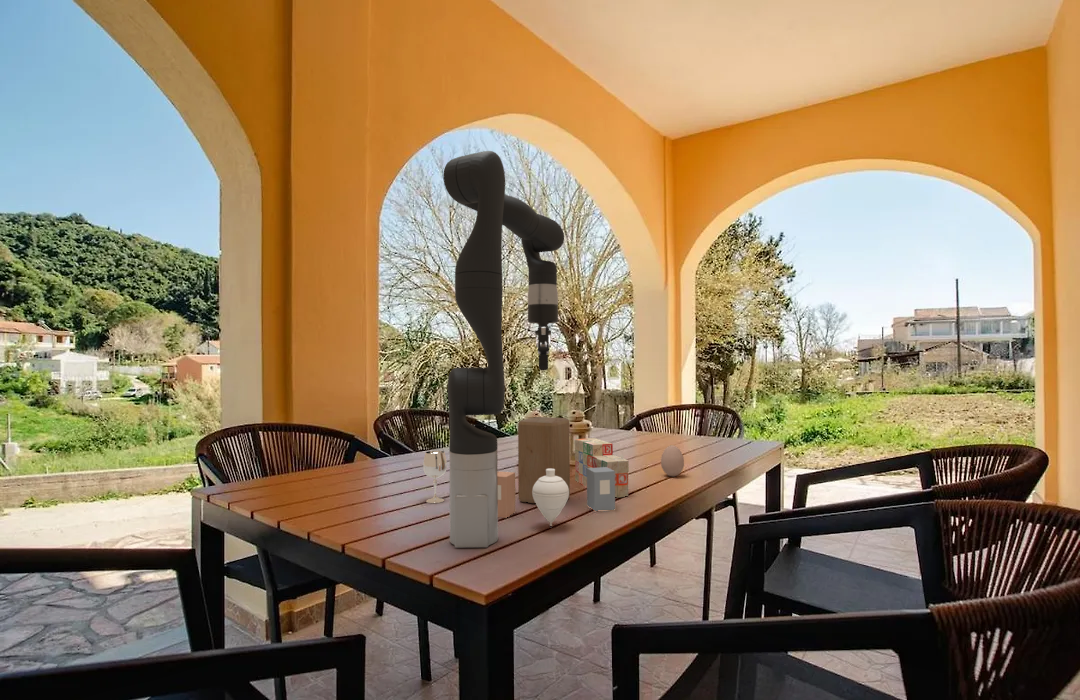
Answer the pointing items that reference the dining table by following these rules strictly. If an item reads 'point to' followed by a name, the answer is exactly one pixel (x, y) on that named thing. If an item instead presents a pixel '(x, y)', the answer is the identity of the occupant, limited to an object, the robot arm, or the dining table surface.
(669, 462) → the egg
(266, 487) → the dining table surface
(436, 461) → the wineglass
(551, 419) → the wooden block
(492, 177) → the robot arm
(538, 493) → the spinning top
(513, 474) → the terracotta painted block
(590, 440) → the stack of blocks
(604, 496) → the slate painted block
